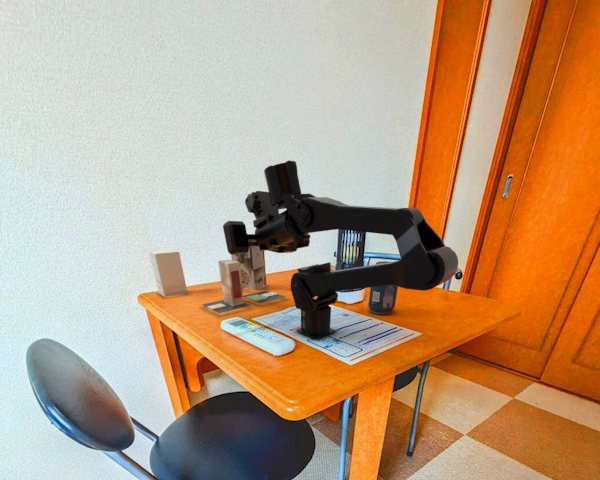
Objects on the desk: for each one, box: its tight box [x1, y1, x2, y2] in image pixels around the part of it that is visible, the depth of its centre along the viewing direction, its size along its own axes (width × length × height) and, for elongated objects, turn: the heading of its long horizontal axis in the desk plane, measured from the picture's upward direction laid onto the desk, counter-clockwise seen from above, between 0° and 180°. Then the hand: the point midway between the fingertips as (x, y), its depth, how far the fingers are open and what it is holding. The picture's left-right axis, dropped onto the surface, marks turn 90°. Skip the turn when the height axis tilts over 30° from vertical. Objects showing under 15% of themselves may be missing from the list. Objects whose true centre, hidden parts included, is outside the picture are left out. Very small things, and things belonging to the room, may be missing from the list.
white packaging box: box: [148, 248, 188, 298], centre depth 97 cm, size 7×7×13 cm
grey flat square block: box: [243, 290, 287, 304], centre depth 94 cm, size 10×10×1 cm
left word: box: [201, 299, 252, 314], centre depth 87 cm, size 10×10×1 cm
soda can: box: [367, 261, 399, 315], centre depth 81 cm, size 7×7×12 cm
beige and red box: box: [217, 259, 245, 306], centre depth 85 cm, size 5×4×11 cm
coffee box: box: [230, 241, 267, 291], centre depth 100 cm, size 9×6×16 cm
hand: (244, 246), depth 78 cm, fingers open, 9 cm apart
